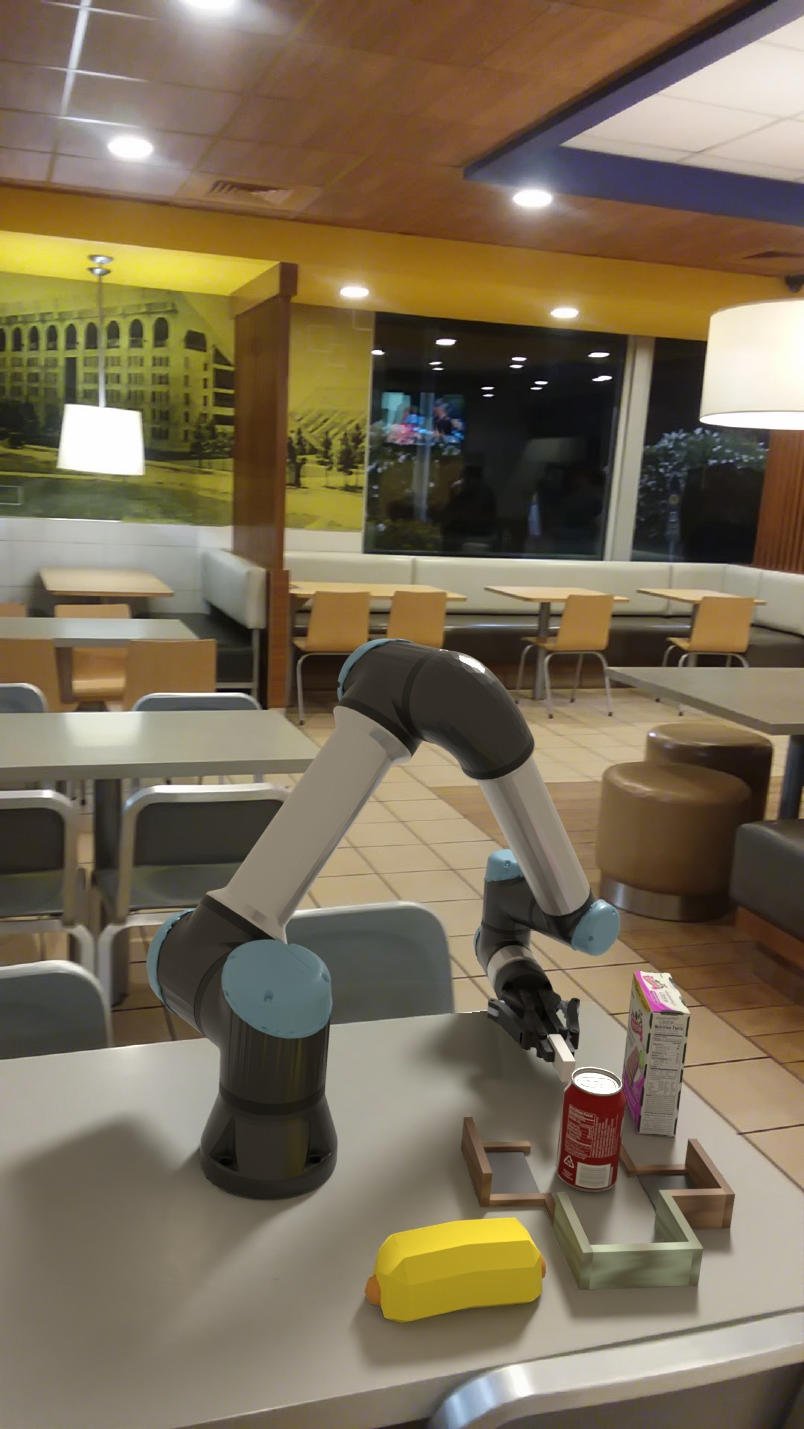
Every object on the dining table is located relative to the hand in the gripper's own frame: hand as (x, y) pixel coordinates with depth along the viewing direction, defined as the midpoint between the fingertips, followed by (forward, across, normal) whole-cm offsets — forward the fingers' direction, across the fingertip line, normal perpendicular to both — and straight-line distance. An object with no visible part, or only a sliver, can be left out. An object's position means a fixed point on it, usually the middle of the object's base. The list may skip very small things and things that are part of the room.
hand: (568, 1071), depth 128 cm
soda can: (+10, 0, -8) cm, 12 cm away
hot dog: (+27, +18, -8) cm, 33 cm away
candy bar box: (-3, -12, -8) cm, 14 cm away
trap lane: (+15, 0, -7) cm, 17 cm away
